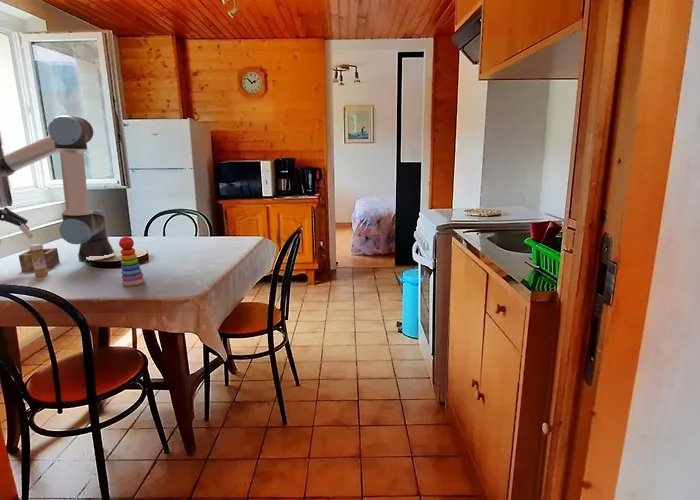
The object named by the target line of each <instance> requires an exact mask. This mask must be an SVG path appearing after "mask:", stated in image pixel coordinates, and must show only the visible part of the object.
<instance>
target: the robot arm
mask: <svg viewBox="0 0 700 500" xmlns="http://www.w3.org/2000/svg"><path fill="white" fill-rule="evenodd" d="M47 131H48V132H47V133H48V135H47V136H45V137H42V138H41V139H38V140H36V141H35V142H32V143H30V144H28V145H24V146H23V147H21V148H18V149H16V150H13V151H12V152H10V153H7V154H5V155H3V156H1V157H0V178H1V177H2V178H3V177H6V178H7V177H9V176H12V175H13V174H14V173H15V172H17V171H19V170H21V169H24V168H25V167H28V166H30V165H32V164H35V163H37V162H39V161H41V160H44V159H46V158H47V157H48V158H49V157H50V156H53V155H55V154H57V153H59V156H60V165H61V166H60V167H61V177H62V185H63V196H64V205H65V209H64V211H62V212H61V214H62V215H61V218H62V222H61V223H60V225H59V227H58V232H59V236H61V238H62V239H63V240H64V241H65V242H66V243H68V244H71V245H79V247H78V248H79V250H78V254H77V257H78V261H81V262H86V261H85V260H86V257H89V256H104V255H109V254H112V253H114V254H115V251H114V249H113V246H112V245H111V243H110V241H109V236H108V231H107V224H106V216H105V213H104V211H103V210H101V209H94V210H91V209H90V208H89V199H88V189H87V176H86V166H85V152H86V151H88V143H89V142H90V141H91V140H92V139H93V137H94V128H93V126H92V124H91V123H90V122H89V121H88V120H87V119H85V118H84V117H80V116H72V115H59V116H56V117H54V118H52V120H50V122H49V124H48V128H47ZM0 221H1V222H7V223H9V224H12V225H14V226H16V227H17V226H18V227H19V230H20V231H21V232H22V233H23V235H25V236H26V237H27V238H28V239H29V240H30V239H32V237H33V236H34V233H33V232H32V231H31V230H30V228H29V226H28V225H27V223H28V221H29V220H28V219H26V218H25V217H24V216H23V217H22V216H20V214H17V213H15V212H13V211H11V210H10V209H9V208H8V207H7V206H5V207H4V208H3V209H0ZM1 243H2V240H1V239H0V244H1Z"/></svg>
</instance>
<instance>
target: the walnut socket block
mask: <svg viewBox="0 0 700 500" xmlns="http://www.w3.org/2000/svg"><path fill="white" fill-rule="evenodd" d="M43 253H44V257H45V262H46V268H47V270H51V269H53V267H56V266H57V265H58V264H59V263H61V262H60V261H61V260H60V257H59V252H58V248H57V247H51V248H50V247H49V248H43ZM18 259H19V264H20V269H21V272H28V271H29V272H30V271H34V268H33V263H32V256H31V251H30V249H28V250H26V251H25V252H23V253H20V254H19V255H18Z"/></svg>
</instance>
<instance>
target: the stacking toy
mask: <svg viewBox="0 0 700 500" xmlns="http://www.w3.org/2000/svg"><path fill="white" fill-rule="evenodd" d="M118 245H119V247H120V249H121V250H120V254H121V256H120V258H121V261H120V264H121V266H120V267H121V268H120V269H121V271H120V272H121V273H120V274H121V284H122V285H123V286H125V287H126V286H127V287H133V286H137V285H141V284H142V283H144V282H145V278H144V277H143V276H144V273H143V272H142V269H141V266H140V263H139V259H138V254H137V253H136V250H135V248H133V247H134V245H135V242H134V239H133V238H131V237H130V236H122V237H121V238H120V239H119V241H118Z"/></svg>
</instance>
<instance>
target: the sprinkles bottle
mask: <svg viewBox="0 0 700 500" xmlns="http://www.w3.org/2000/svg"><path fill="white" fill-rule="evenodd" d="M28 247H29V249H28V250H30V251H31V256H32V263H33V268H34V270H33V271H34V276H35V277H36V278H42V277H46V276H48V275H49V273H48V269H47V268H46V262H45V257H44V253H43V249H44V245H43V244H42V243H32V244H29V245H28Z"/></svg>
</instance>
